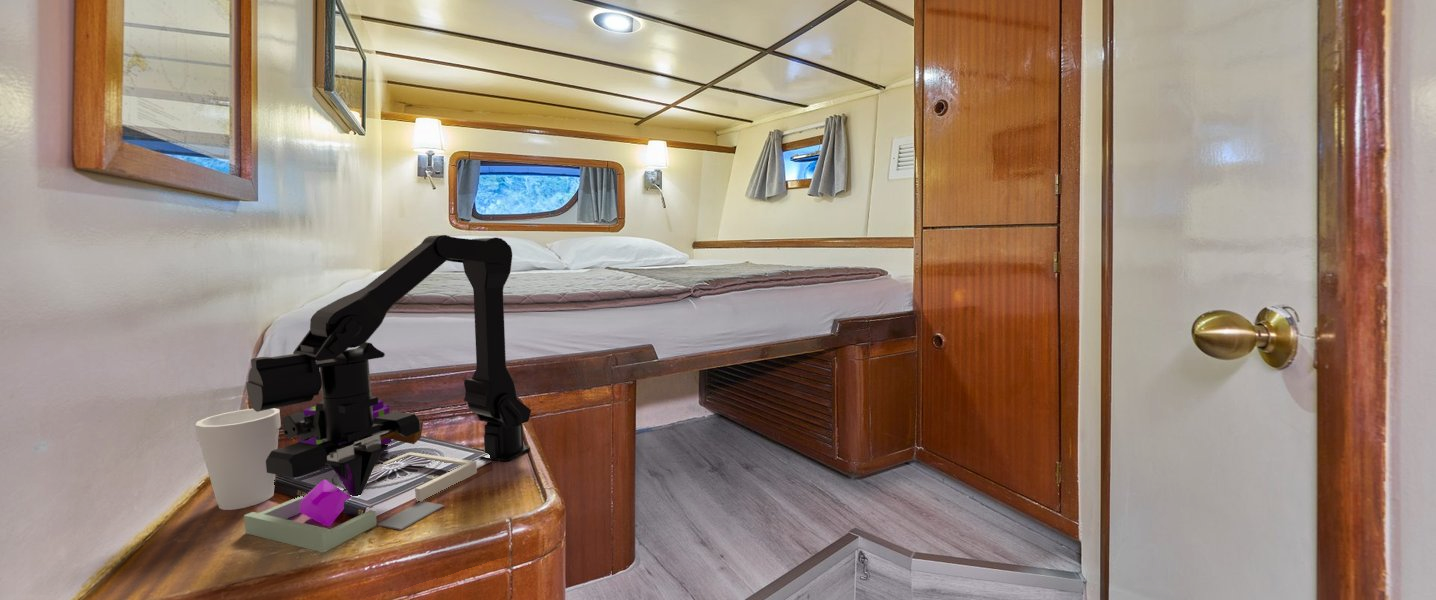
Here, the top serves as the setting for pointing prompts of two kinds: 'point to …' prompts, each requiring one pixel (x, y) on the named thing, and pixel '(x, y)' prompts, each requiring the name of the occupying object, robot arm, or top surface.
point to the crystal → (323, 503)
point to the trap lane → (324, 539)
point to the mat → (410, 515)
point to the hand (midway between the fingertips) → (355, 497)
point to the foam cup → (239, 455)
